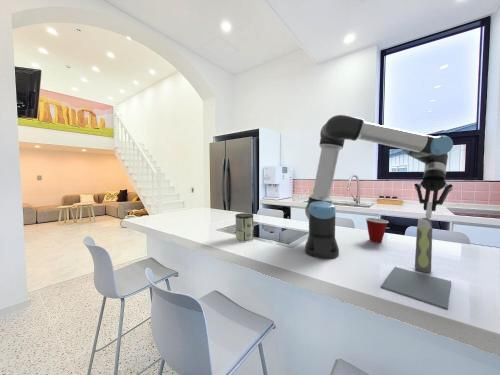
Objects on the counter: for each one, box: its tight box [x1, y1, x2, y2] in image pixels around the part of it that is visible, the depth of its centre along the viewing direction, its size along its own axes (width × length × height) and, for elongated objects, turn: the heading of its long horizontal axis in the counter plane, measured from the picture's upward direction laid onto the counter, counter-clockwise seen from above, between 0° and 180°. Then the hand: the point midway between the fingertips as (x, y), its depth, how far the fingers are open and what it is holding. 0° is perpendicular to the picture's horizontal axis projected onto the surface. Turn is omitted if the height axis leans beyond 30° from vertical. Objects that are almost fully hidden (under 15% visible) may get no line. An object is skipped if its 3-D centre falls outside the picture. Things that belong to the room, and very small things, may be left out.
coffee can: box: [234, 212, 254, 242], centre depth 121 cm, size 10×10×14 cm
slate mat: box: [380, 266, 452, 310], centre depth 70 cm, size 20×16×1 cm
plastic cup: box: [365, 217, 389, 243], centre depth 115 cm, size 11×11×12 cm
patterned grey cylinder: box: [414, 217, 433, 273], centre depth 80 cm, size 5×5×20 cm
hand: (428, 216), depth 86 cm, fingers closed
